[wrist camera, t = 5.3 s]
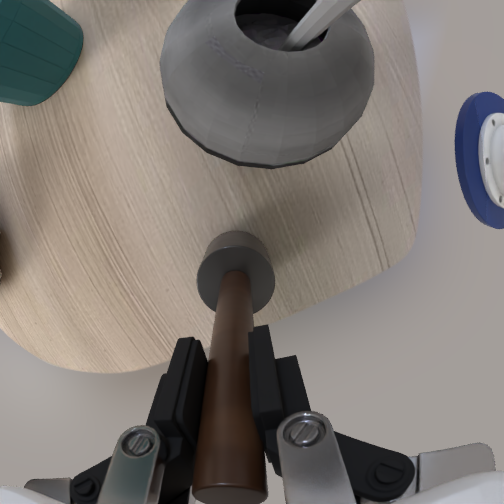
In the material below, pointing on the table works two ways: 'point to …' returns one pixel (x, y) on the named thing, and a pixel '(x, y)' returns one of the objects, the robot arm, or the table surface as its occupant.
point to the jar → (35, 50)
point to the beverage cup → (267, 77)
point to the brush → (231, 372)
